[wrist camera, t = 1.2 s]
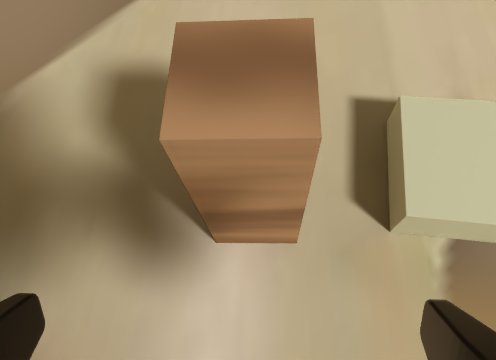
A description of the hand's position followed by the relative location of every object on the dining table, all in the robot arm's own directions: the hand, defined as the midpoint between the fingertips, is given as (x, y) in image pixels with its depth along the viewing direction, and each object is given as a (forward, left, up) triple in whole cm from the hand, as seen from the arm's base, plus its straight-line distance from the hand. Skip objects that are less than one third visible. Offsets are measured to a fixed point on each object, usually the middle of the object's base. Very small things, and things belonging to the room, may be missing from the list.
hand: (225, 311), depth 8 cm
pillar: (+5, -6, -13) cm, 15 cm away
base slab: (-4, -15, -13) cm, 21 cm away
